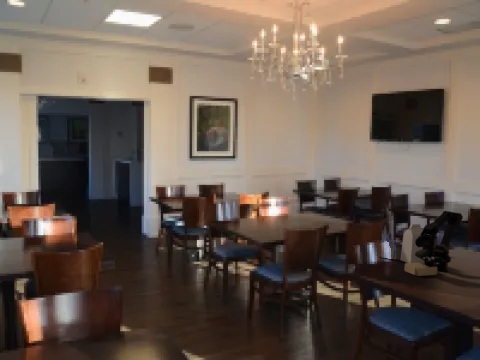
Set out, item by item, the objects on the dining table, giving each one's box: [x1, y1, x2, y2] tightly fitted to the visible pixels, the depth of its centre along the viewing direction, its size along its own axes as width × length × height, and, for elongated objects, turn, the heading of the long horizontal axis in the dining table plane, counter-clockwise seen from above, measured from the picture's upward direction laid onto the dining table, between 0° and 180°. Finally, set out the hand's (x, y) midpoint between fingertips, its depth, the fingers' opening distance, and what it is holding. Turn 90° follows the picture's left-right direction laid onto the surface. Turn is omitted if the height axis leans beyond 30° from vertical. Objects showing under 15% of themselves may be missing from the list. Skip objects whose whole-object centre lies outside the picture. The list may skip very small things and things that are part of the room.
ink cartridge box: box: [380, 237, 397, 260], centre depth 321 cm, size 10×6×14 cm, turn 55°
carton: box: [404, 262, 429, 276], centre depth 286 cm, size 10×10×5 cm
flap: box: [415, 266, 438, 277], centre depth 281 cm, size 14×1×5 cm, turn 108°
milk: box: [400, 223, 425, 265], centre depth 313 cm, size 12×12×26 cm
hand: (427, 270), depth 287 cm, fingers closed
